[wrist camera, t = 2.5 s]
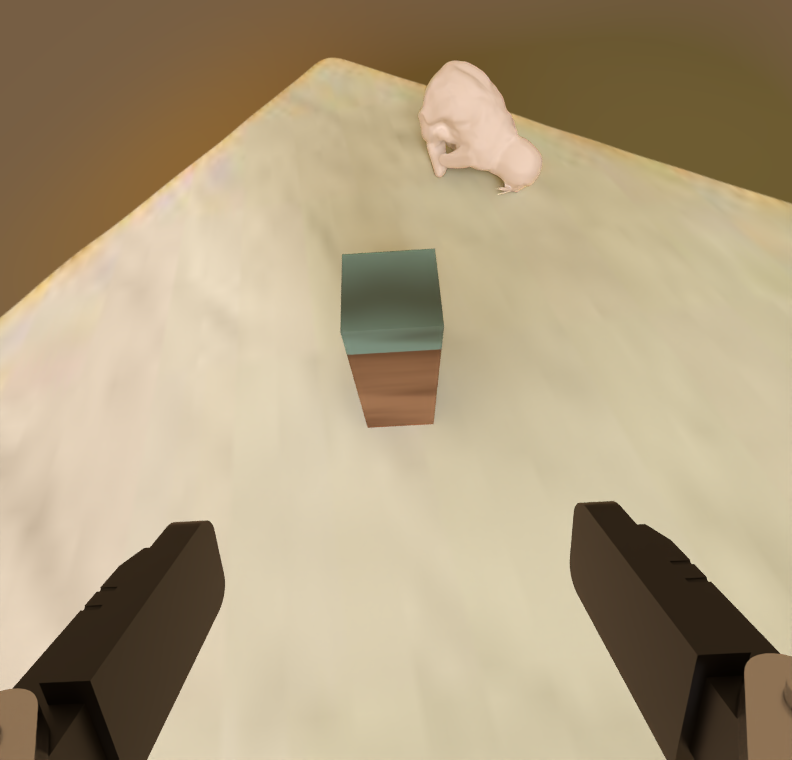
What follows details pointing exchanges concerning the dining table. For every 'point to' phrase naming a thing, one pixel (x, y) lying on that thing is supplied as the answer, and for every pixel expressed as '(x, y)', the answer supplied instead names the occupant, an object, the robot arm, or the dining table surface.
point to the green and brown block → (393, 333)
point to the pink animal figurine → (475, 128)
